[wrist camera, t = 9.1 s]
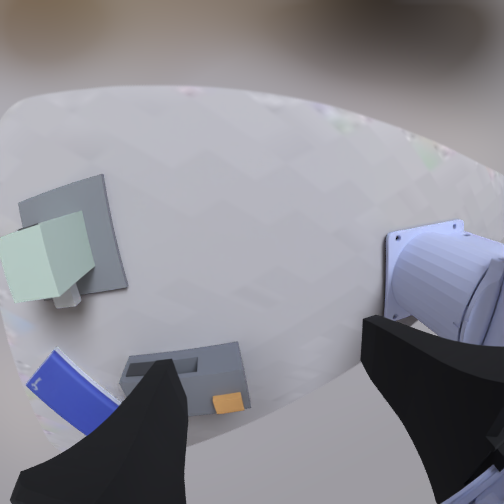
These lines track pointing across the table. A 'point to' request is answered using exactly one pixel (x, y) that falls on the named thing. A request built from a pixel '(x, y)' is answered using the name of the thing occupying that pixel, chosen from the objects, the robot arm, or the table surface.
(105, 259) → the mat
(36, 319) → the table surface
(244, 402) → the power strip
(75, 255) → the block
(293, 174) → the table surface
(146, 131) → the table surface
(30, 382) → the blue book
